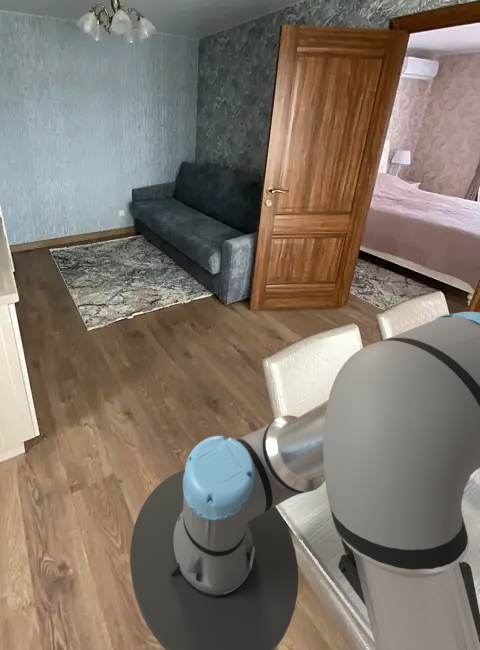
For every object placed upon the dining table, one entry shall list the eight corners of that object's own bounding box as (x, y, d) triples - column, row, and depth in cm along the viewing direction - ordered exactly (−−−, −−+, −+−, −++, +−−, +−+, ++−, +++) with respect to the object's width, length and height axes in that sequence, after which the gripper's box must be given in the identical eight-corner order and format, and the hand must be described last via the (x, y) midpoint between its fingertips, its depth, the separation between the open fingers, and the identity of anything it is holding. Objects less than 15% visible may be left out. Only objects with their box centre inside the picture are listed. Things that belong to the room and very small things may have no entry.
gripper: (357, 704, 45) (307, 522, 65) (553, 718, 44) (442, 530, 64) (369, 678, 42) (313, 497, 62) (580, 693, 41) (455, 504, 61)
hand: (379, 513), depth 63 cm, fingers open, 13 cm apart
